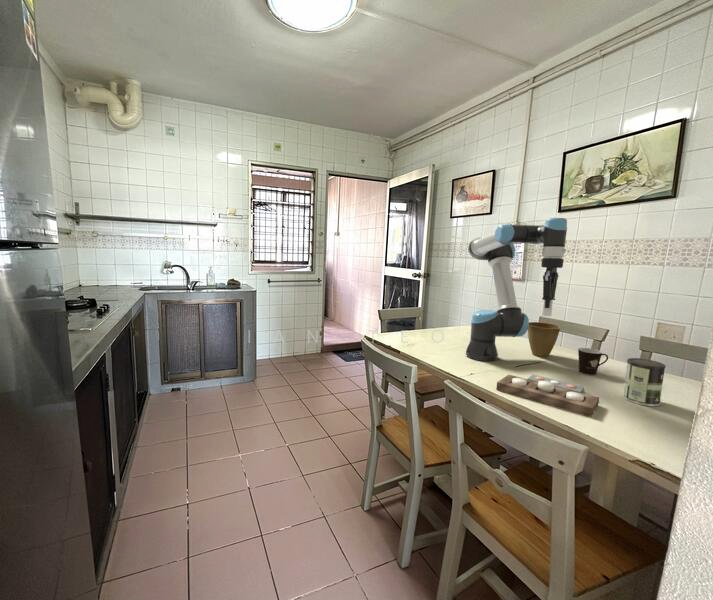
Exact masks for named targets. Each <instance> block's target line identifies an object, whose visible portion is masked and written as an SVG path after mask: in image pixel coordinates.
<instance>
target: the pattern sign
mask: <svg viewBox="0 0 713 600" xmlns="http://www.w3.org/2000/svg"><path fill="white" fill-rule="evenodd" d="M527 379H529V380H533V381H537V382H538V381H548V382H552V383H553V384H554V386H556V387H560V388H564V389H568V390H572V391H576V392H580V393H584V392H585V386H582V385H579V384H574V383H570V382H566V381H562V380H558V379H553V378H549V377H545V376H540V375H537V374H531V375H530V376H529V377H527ZM584 394H585V393H584Z"/></svg>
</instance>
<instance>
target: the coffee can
mask: <svg viewBox="0 0 713 600" xmlns="http://www.w3.org/2000/svg"><path fill="white" fill-rule="evenodd" d="M626 359H627V360H626V361H627V364H626V372H625V378H624V379H625V380H624V386H623V394H622V397H623V398H624V399H625V400H626V401H628V402H631V403H633V404H637V405H641V406H646V407H659V406H660V405H661V399H662V398H661V397H662V389H663V385H664V384H663V382H664V376H665V369H666V364H664V363H663V362H659V361H656V360H653V359H648V358H637V357H634V358H632V357H631V358H626Z"/></svg>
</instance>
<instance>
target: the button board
mask: <svg viewBox="0 0 713 600" xmlns="http://www.w3.org/2000/svg"><path fill="white" fill-rule="evenodd" d="M513 378H521V379H524V380H526V381H527V385H526V386H525V387H524V386H521V385H517V384H513V383H512V379H513ZM499 390H500V391H499ZM496 391H499V392H504V393H506V394H509V393H510V395H514V396H517V397H521V398H524V399H527V400H531V401H534V402H538V403H541V404H544V405H548V406H552V407H554V406H555V408H559V409H562V410H566V411H569V412H572V413H575V414H578V415H581V416H586V417H589V418H592V417H593V416H594V414H595V412H596V411H597V409H598V407H599V403H600V397H599V396H595V395H591V394H589V393H588V394H587V393H580V392H576V391H572V390H568V389H564V388H560V387H556V386H554V392H552V393H547V392H543V391H540V390H538V382H537V381H533V380H529V379H528V378H525V377H524V378H523V377H521V376H517V375H512V374H507V375H505V376H503V377H502V378H501V379H500V380H498V381H496ZM567 392H576V393H579V394H582V395H583V396H584V400H583V402H580V401H576V400H573V399H569V398H566V393H567Z"/></svg>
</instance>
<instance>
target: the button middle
mask: <svg viewBox="0 0 713 600" xmlns="http://www.w3.org/2000/svg"><path fill="white" fill-rule="evenodd" d="M538 390H540V391H543V392H547V393H552V392H554V384H553V383H552V382H548V381H538Z"/></svg>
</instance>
